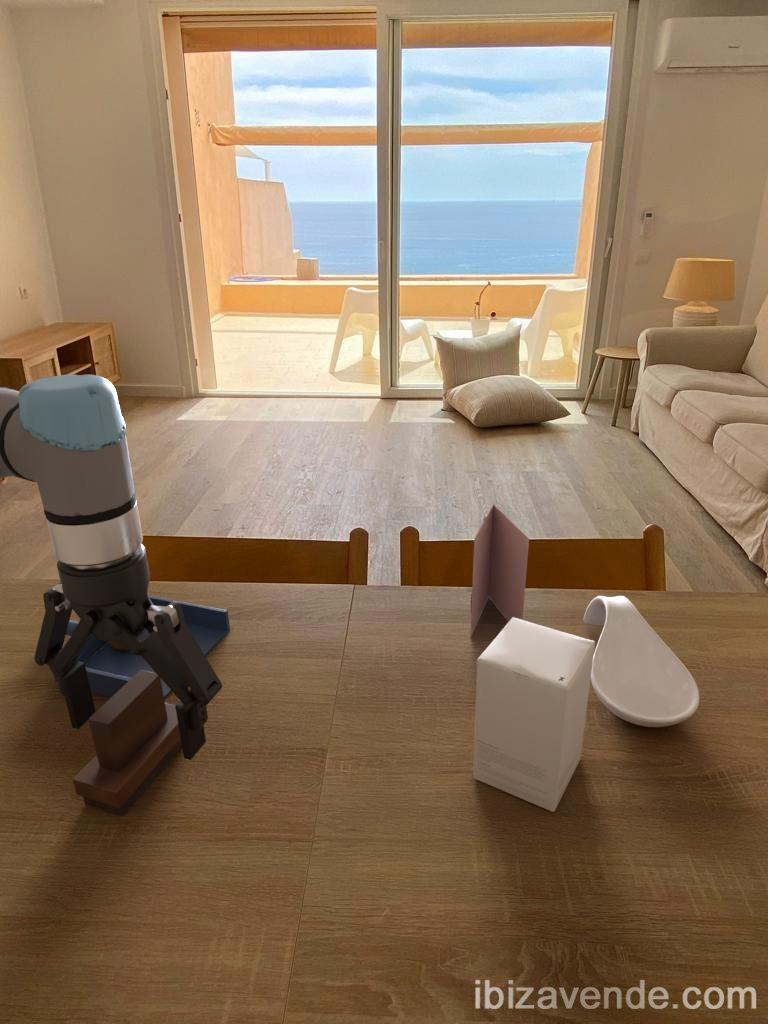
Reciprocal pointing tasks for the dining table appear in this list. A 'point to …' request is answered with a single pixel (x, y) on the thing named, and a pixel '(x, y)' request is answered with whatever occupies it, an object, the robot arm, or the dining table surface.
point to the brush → (129, 744)
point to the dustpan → (120, 667)
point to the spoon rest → (637, 668)
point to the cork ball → (119, 646)
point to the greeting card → (499, 567)
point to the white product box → (531, 711)
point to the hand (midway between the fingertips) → (138, 734)
